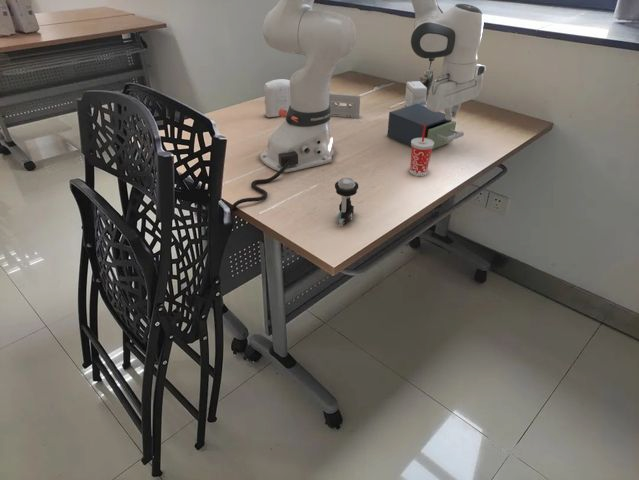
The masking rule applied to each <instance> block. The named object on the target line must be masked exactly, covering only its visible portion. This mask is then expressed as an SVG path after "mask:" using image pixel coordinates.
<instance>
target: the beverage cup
mask: <svg viewBox="0 0 639 480" xmlns="http://www.w3.org/2000/svg"><path fill="white" fill-rule="evenodd" d="M425 128H426V124H424V129H423V136H422V138H414V139H412V140H411V146H412V147H410V148H411V150H410V151H411V152H410V153H411V154H410V163H409V164H410V166H409V173H410V174H411V175H413V176H414V177H415V176H416V177H423V176H426V175H427V173H428V169H429V165H430V161H431V155H432V151H433V149H432V148H433V146H434V142H433V141H432V140H431V139H428V138H424V135H425Z"/></svg>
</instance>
